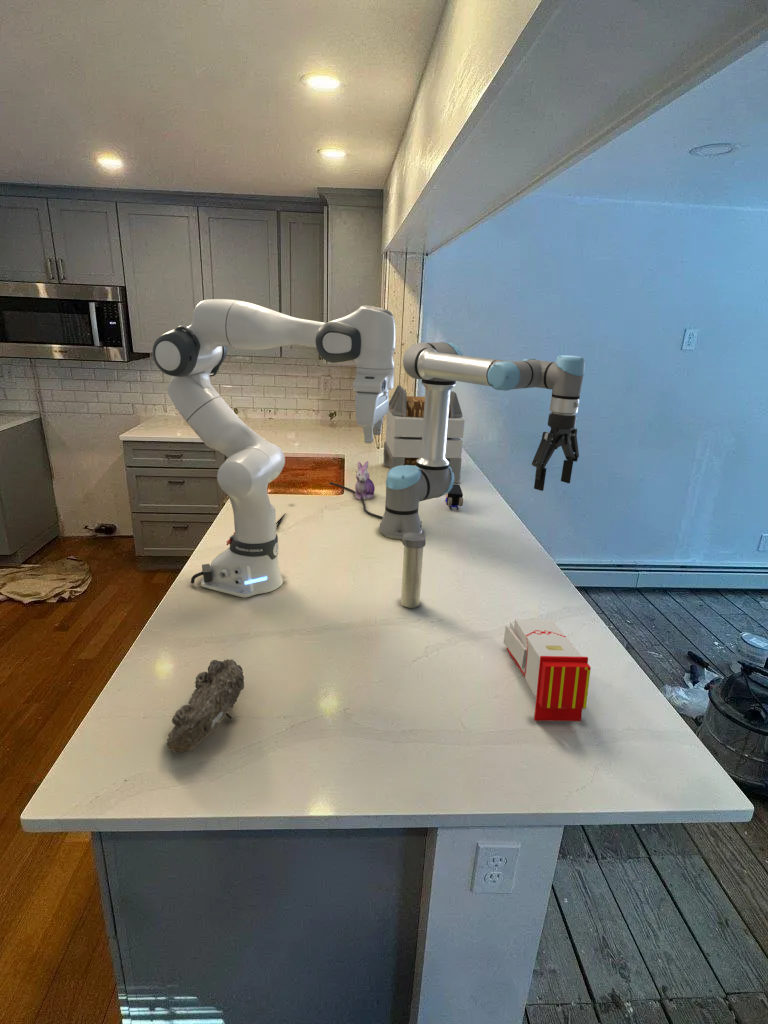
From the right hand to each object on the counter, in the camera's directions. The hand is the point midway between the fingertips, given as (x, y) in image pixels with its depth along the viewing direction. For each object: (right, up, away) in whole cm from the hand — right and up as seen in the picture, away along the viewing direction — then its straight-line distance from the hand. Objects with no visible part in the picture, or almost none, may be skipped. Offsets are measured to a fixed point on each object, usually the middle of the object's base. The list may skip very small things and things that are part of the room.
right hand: (552, 485), depth 166 cm
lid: (-41, -14, -19) cm, 48 cm away
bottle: (-42, -32, -12) cm, 55 cm away
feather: (-86, -10, +45) cm, 98 cm away
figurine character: (-21, -5, +65) cm, 69 cm away
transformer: (-32, +11, +109) cm, 115 cm away
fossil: (-82, -47, -57) cm, 110 cm away
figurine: (-57, -1, +71) cm, 92 cm away
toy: (-16, -44, -42) cm, 63 cm away
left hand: (-52, +10, -29) cm, 60 cm away
